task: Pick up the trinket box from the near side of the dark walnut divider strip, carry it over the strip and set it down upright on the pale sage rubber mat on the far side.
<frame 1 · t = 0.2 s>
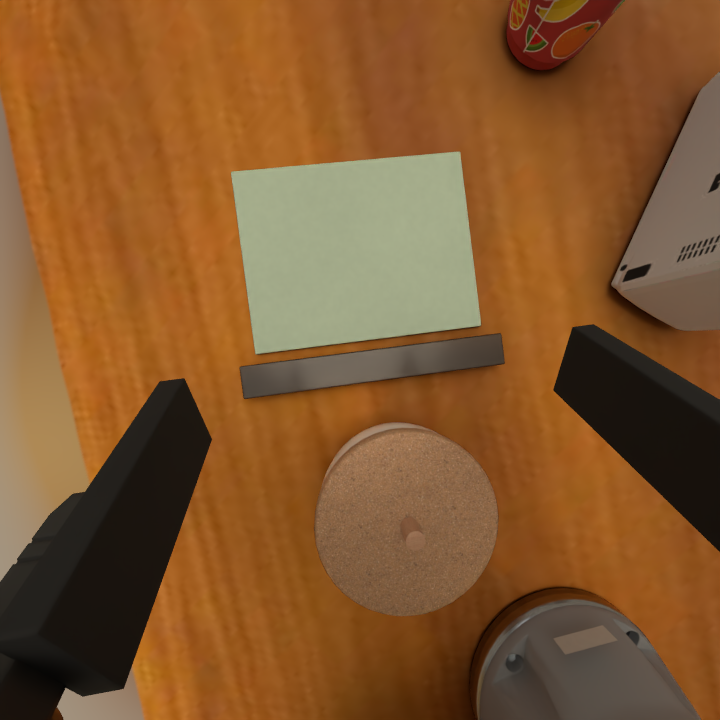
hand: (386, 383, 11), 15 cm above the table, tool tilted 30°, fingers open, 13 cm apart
radio: (679, 207, 28), on the table
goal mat: (359, 252, 26), on the table
trinket box: (387, 474, 26), on the table
divider: (373, 364, 26), on the table
smoothie: (537, 39, 27), on the table
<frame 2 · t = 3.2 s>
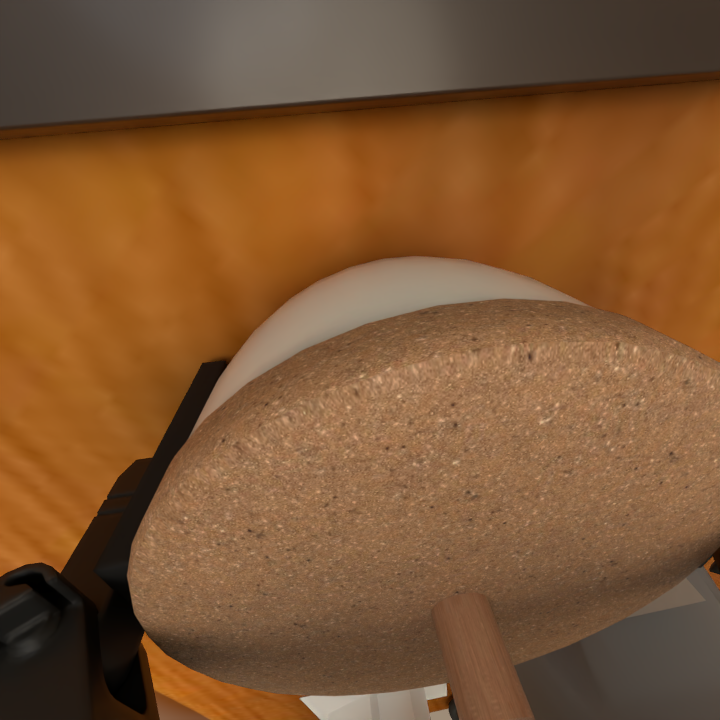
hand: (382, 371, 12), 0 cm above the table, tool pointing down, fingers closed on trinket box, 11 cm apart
trinket box: (379, 362, 13), on the table, touching gripper
divider: (363, 44, 8), on the table
napkin holder: (379, 694, 36), on the table
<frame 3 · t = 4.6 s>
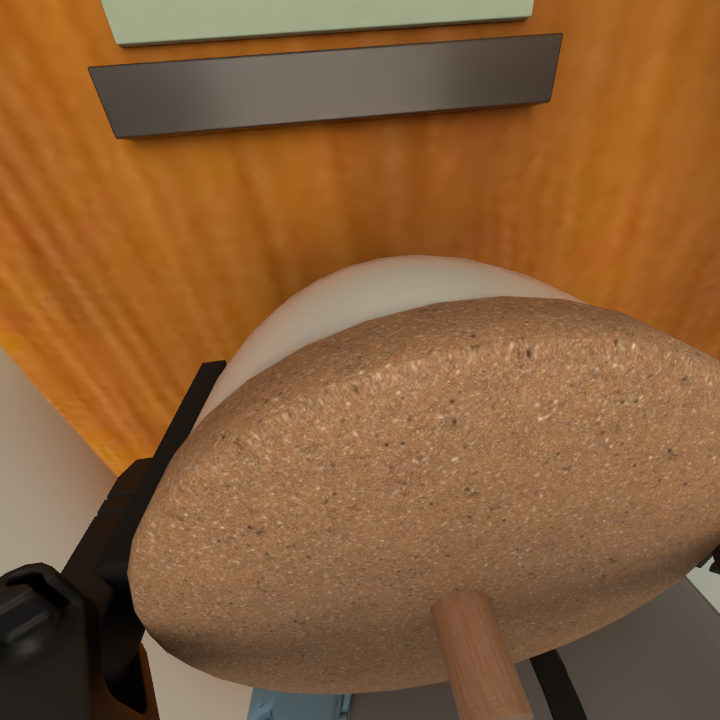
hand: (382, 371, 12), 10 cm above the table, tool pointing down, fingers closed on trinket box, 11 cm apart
trinket box: (379, 362, 13), point 10 cm above the table, touching gripper
divider: (336, 91, 16), on the table
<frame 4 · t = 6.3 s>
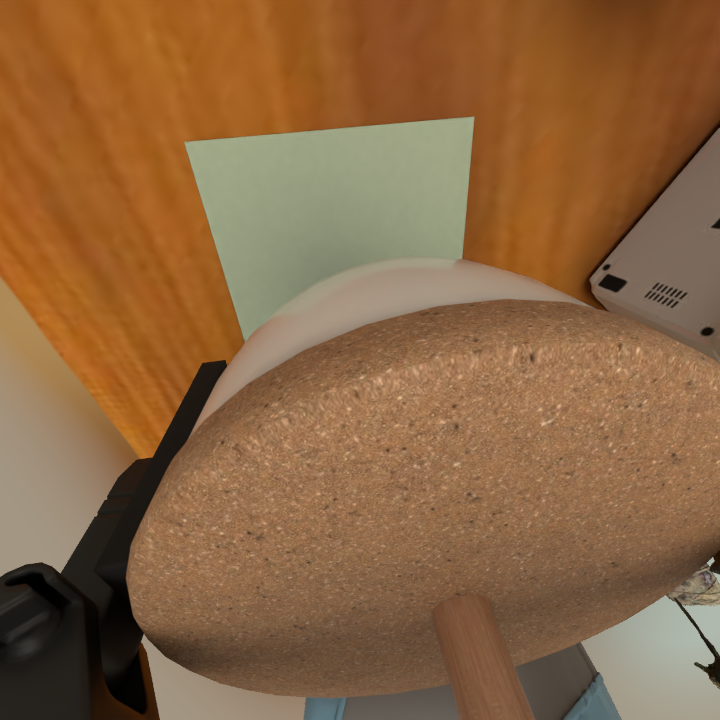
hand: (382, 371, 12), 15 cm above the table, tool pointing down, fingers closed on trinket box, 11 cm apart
radio: (696, 191, 26), on the table
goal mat: (344, 244, 24), on the table
trinket box: (379, 363, 13), point 15 cm above the table, touching gripper
plant with pod: (620, 513, 50), on the table
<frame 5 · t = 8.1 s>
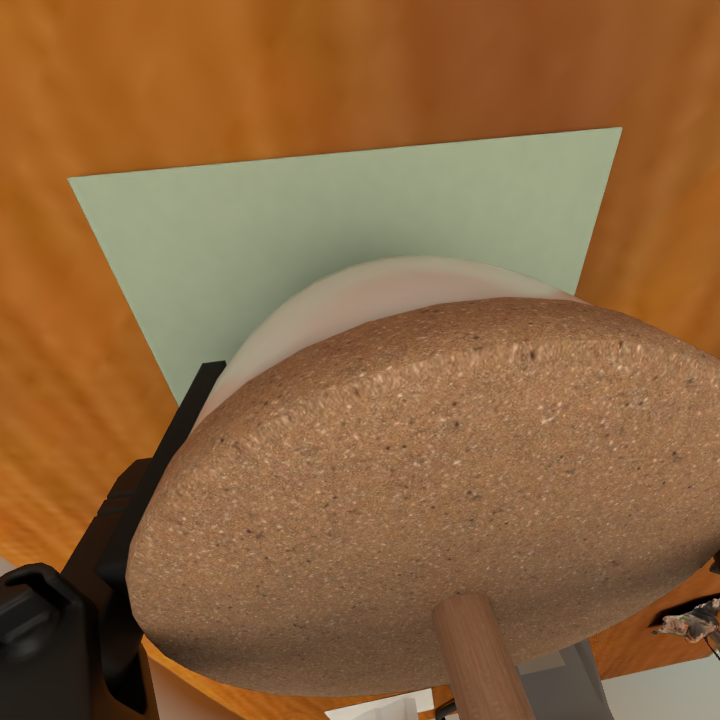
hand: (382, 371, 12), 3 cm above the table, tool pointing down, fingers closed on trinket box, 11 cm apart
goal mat: (370, 336, 15), on the table
trinket box: (379, 362, 13), point 2 cm above the table, touching gripper
plant with pod: (692, 607, 41), on the table
napkin holder: (382, 708, 47), on the table
when the fingers open (1 cm above the table, at t = 9.4 s): trinket box stays where it is, resting on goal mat.
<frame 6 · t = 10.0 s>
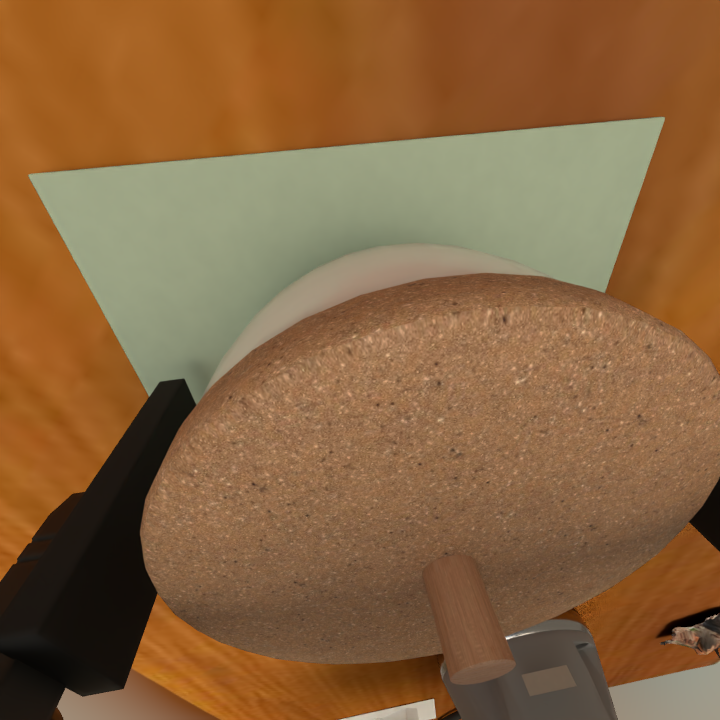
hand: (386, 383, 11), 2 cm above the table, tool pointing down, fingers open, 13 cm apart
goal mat: (376, 349, 13), on the table
trinket box: (377, 352, 13), resting on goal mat
plant with pod: (702, 617, 40), on the table
napkin holder: (383, 718, 46), on the table
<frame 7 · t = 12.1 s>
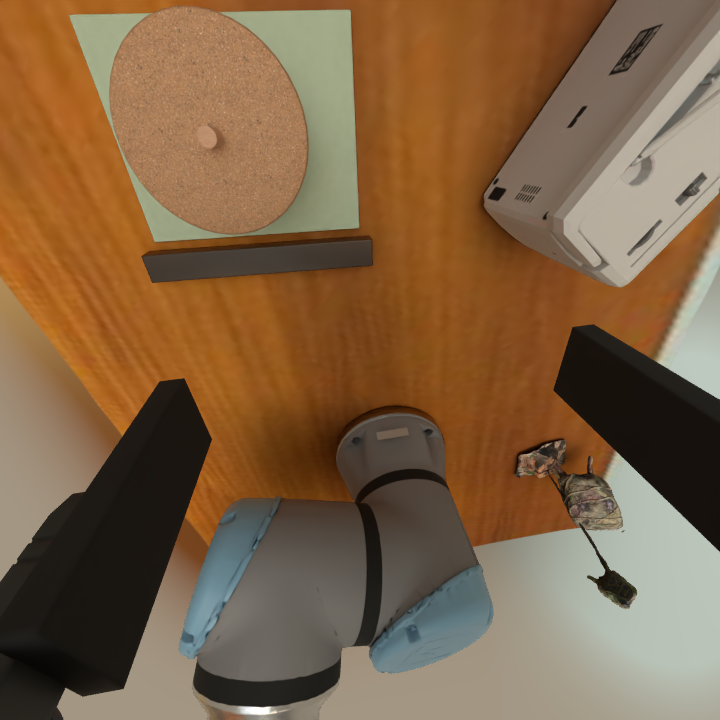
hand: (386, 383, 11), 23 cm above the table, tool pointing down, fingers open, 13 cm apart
radio: (579, 110, 27), on the table
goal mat: (241, 140, 26), on the table
trinket box: (240, 139, 25), resting on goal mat
divider: (264, 256, 31), on the table
plant with pod: (545, 455, 53), on the table
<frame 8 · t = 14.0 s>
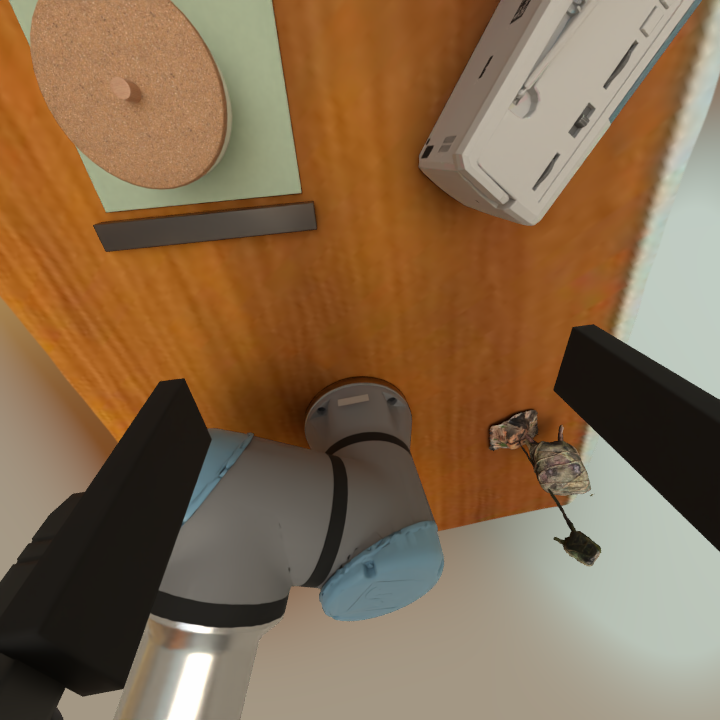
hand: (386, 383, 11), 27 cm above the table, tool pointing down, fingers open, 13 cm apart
radio: (502, 69, 29), on the table
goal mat: (179, 109, 27), on the table
trinket box: (177, 108, 27), resting on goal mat
divider: (213, 224, 32), on the table
plant with pod: (517, 426, 53), on the table
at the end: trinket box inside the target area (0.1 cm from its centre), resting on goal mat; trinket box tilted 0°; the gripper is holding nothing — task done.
